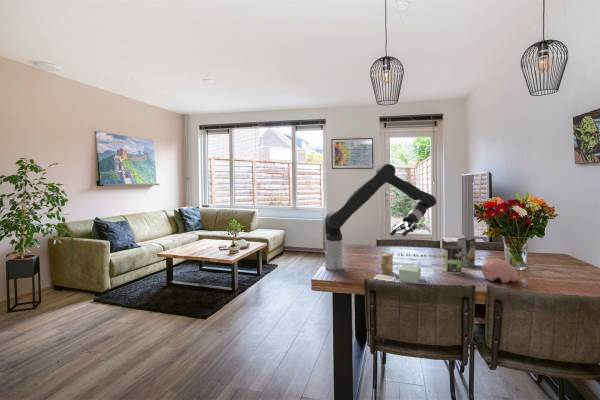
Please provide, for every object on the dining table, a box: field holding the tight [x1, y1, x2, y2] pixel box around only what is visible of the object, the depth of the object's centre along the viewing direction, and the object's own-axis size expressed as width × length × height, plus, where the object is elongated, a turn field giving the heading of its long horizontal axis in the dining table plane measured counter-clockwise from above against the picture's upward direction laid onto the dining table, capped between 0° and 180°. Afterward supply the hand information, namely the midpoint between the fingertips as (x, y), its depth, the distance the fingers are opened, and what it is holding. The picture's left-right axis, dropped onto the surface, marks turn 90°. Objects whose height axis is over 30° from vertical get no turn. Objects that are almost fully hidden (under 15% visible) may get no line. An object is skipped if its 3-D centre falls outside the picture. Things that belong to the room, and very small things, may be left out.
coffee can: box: [441, 244, 462, 275], centre depth 181 cm, size 10×10×14 cm
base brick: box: [398, 264, 422, 284], centre depth 168 cm, size 9×9×6 cm
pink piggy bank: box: [481, 258, 518, 284], centre depth 164 cm, size 16×13×12 cm
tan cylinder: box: [380, 253, 394, 275], centre depth 181 cm, size 5×5×10 cm
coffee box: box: [456, 236, 476, 268], centre depth 193 cm, size 9×6×16 cm
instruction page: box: [372, 274, 397, 282], centre depth 171 cm, size 10×8×1 cm
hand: (397, 234), depth 179 cm, fingers open, 8 cm apart
